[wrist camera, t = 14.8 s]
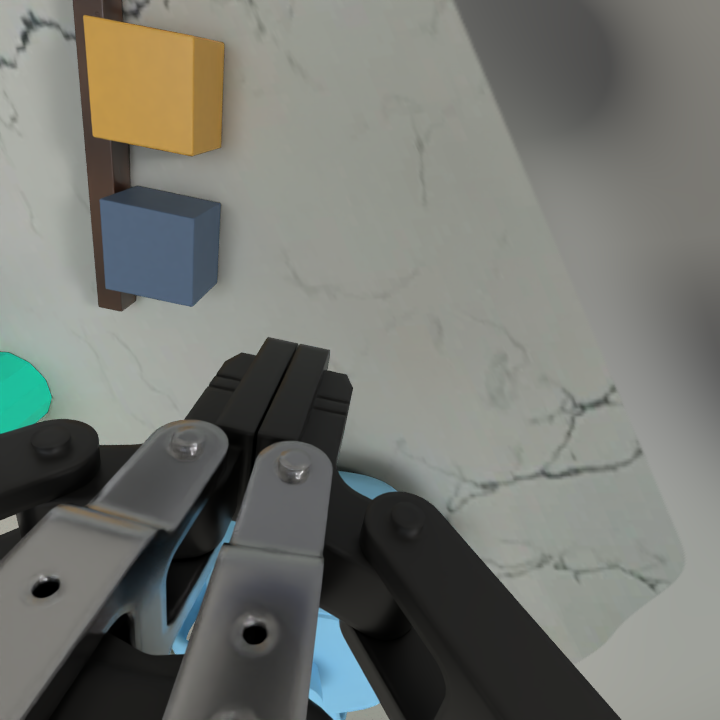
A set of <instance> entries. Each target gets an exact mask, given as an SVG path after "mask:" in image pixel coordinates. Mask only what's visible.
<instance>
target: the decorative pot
mask: <svg viewBox="0 0 720 720" xmlns="http://www.w3.org/2000/svg"><path fill="white" fill-rule="evenodd" d="M338 472H339V474H340V476H341V478H342V479H343V480H344V481H345V483H346V484H347V485H349V486H350V487H351V488H352V489H354V490H355V491H357V492H358V493H360V494H362V495H364V496H366V497H368V498H370V499H372V500H373V499H374V498H375V497H377V496H379V495H381V494H383V493H387V492H395V491H396V490H395V489H394V488H393V487H391V486H390V485H388V484H386V483H385V482H383V481H381V480H378V479H376V478H373V477H369V476H365V475H361V474H356V473H350V472H342V471H338ZM396 492H398V491H396ZM235 523H236V522H235V521H231V522H230V524H229V527H228V529H227V531H226V534H225V536H224V538H223V539H222V545H223V543H224V542H226V543H229V541H230V539H231V536H232V533H233V530H234V526H235ZM213 568H214V567H213ZM213 568H212V570H211V572H210V574H209V576H208V578H207V580H206V582H205V584H204V585H203V587H202V589H201V591H200V593H199V595H198V597H197V599H196V600H195V602H194V604H193V606H192V608H191V610H190V612H189V614H188V616H187V617H186V619H185V621H184V623H183V625H182V627H181V629H180V631H179V632H178V634H177V636H176V639H175V641H174V643H173V646H172V649H173V651H174V652H175V654H185V651H186V648H187V645H188V642H189V641H188V640H186V638H187V635H188V632H189V630H190V628H191V627H192V625H193V623H194V622H195V620H196V618H197V615H198V612H199V609H200V606H201V603H202V600H203V597H204V594H205V591H206V589H207V586H208V583H209V580H210V577H211V574H212V571H213ZM309 699H311V700H312V701H313V702H315V703H316V704H317V705H318V706H320V707H321V708H322V709H323V710H324V711H325V712H326V713H327V714H328V715H329V716H330V717H331V718H333V719H334V720H345V719H346V715H347V712H351V711H357V710H362V709H366V708H370V707H372V706H375V705H377V704H378V703H380V702H379V700H378V698H377V696H376V694H375V693H374V691H373V689H372V687H371V685H370V684H369V682H368V680H367V678H366V677H365V675H364V673H363V671H362V669H361V668H360V666H359V664H358V662H357V660H356V659H355V657H354V655H353V653H352V652H351V650H350V648H349V646H348V644H347V643H346V641H345V639H344V637H343V635H342V633H341V630H340V626H339V619H338V618H336V617H334V616H333V615H331V614H329V613H328V612H326V611H324V610H323V609H321V608H319V612H318V620H317V629H316V637H315V646H314V655H313V663H312V672H311V680H310V689H309Z"/></svg>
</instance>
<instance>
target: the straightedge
mask: <svg viewBox="0 0 720 720" xmlns="http://www.w3.org/2000/svg"><path fill="white" fill-rule="evenodd" d="M73 10H74V22H75V33H76V45H77V57H78V69H79V81H80V92H81V104H82V116H83V128H84V140H85V151H86V163H87V175H88V187H89V199H90V210H91V222H92V234H93V246H94V258H95V269H96V281H97V293H98V305H99V307H102V308H107V309H111V310H116V311H123V310H124V309H126V308H127V307H128V306H130V305H131V304H132V303H134V302H135V301H136V298H135V295H133V294H129V293H124V292H119V291H115V290H110V289H106V288H105V274H104V259H103V244H102V229H101V214H100V199H101V198H104V197H107V196H110V195H112V194H115V193H118V192H121V191H124V190H127V189H129V188H130V168H129V146H128V144H126V143H121V142H116V141H111V140H106V139H101V138H96V137H93V134H92V121H91V109H90V96H89V84H88V71H87V59H86V46H85V34H84V21H83V16H84V15H89V16H94V17H99V18H104V19H109V20H114V21H120V22H123V16H122V0H73Z"/></svg>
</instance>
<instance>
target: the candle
mask: <svg viewBox="0 0 720 720" xmlns="http://www.w3.org/2000/svg"><path fill="white" fill-rule="evenodd" d="M51 399H52V397H51V394H50V391H49V388H48V385H47V382H46V380H45V378H44V377H43V376H42V375H41V374H40V373H39V372H38V371H37V370H36V369H35V368H34V367H33V366H32V365H31V364H30V363H29V362H27V361H25V360H23V359H21V358H19V357H17V356H15V355H13V354H11V353H9V352H0V434H2V433H5V432H9V431H12V430H15V429H19V428H22V427H25V426H29V425H32V424H35V423H36V422H37V421H38V420H40V419H41V418H42V417H43V416H44V415H45V414H46V413H48V409H49V406H50V403H51Z"/></svg>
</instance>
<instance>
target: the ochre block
mask: <svg viewBox="0 0 720 720" xmlns="http://www.w3.org/2000/svg"><path fill="white" fill-rule="evenodd" d="M83 21H84V34H85V46H86V59H87V71H88V84H89V96H90V109H91V121H92V134H93V137H96V138H101V139H106V140H111V141H116V142H121V143H126V144H132V145H137V146H142V147H147V148H152V149H157V150H162V151H167V152H172V153H178V154H183V155H188V156H195V155H198V154H201V153H205V152H208V151H211V150H215V149H218V148H220V147H221V129H222V99H223V69H224V43H223V42H219V41H214V40H210V39H206V38H201V37H197V36H192V35H187V34H182V33H177V32H172V31H166V30H161V29H156V28H151V27H146V26H140V25H135V24H130V23H125V22H120V21H114V20H109V19H104V18H99V17H94V16H89V15H84V16H83Z"/></svg>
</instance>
